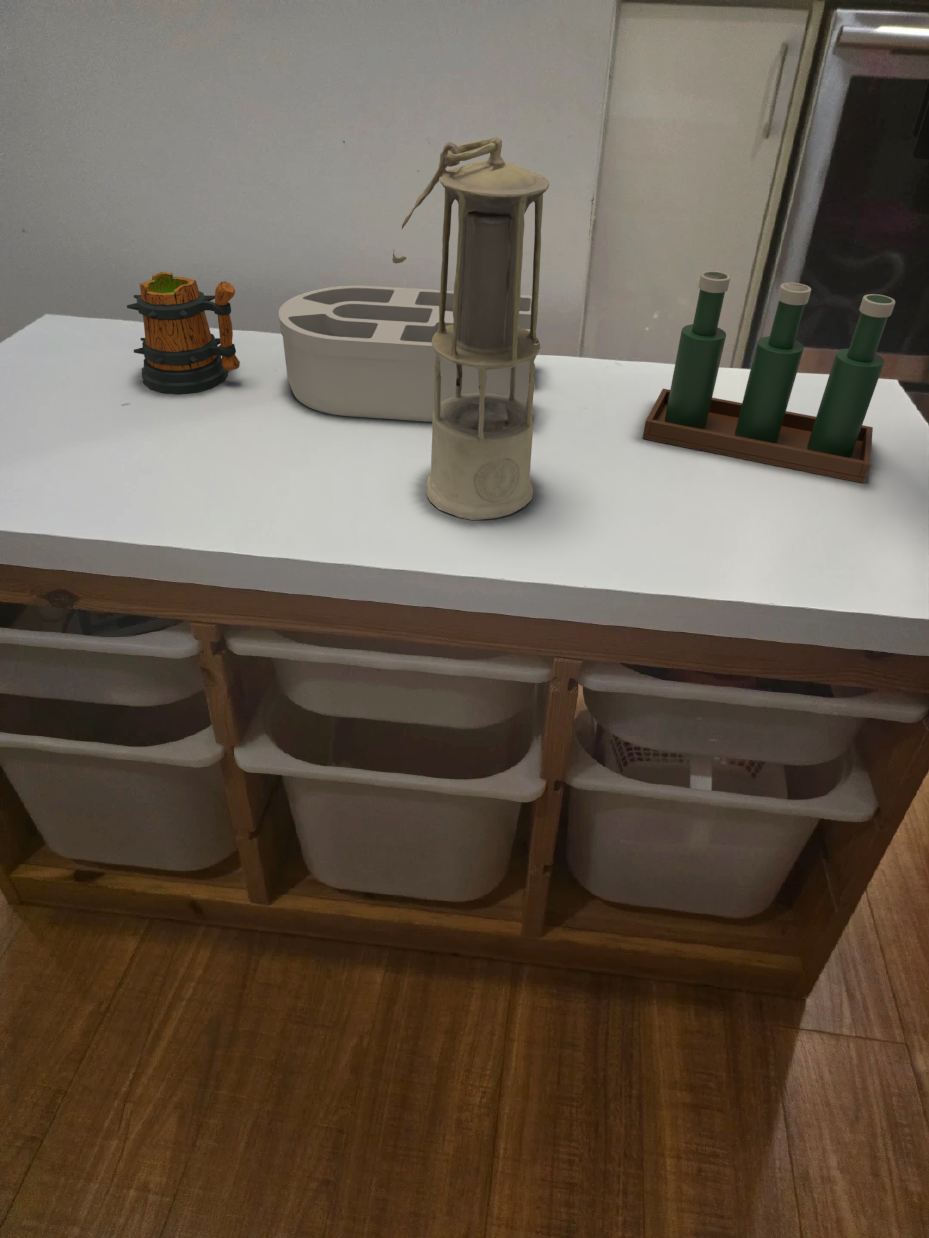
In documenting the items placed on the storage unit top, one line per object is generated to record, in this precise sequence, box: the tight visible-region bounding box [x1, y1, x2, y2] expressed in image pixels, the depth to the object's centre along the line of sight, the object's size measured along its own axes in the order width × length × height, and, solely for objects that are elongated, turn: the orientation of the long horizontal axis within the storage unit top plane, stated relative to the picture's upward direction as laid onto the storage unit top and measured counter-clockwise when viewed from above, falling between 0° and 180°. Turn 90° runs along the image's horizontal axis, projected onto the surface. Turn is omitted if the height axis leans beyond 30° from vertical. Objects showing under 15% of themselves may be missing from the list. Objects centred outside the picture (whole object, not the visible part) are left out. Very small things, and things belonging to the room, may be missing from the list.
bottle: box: [807, 293, 896, 458], centre depth 83 cm, size 4×4×16 cm
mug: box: [126, 271, 241, 395], centre depth 96 cm, size 13×10×12 cm
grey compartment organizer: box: [278, 284, 540, 423], centre depth 96 cm, size 17×28×9 cm, turn 84°
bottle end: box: [665, 270, 731, 429], centre depth 87 cm, size 4×4×16 cm
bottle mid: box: [735, 282, 812, 443], centre depth 85 cm, size 4×4×16 cm
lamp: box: [391, 136, 550, 521], centre depth 72 cm, size 10×13×30 cm
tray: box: [642, 388, 874, 484], centre depth 90 cm, size 22×9×2 cm, turn 68°
